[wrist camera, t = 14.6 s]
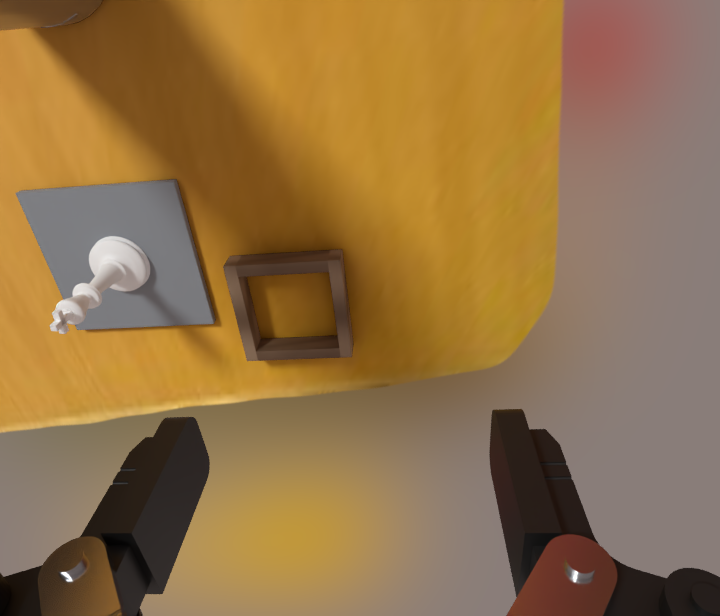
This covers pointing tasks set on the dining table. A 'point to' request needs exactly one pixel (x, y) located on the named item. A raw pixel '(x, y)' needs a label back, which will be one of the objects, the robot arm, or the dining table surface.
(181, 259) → the mat
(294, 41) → the dining table surface
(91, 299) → the chess piece
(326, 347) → the square frame
